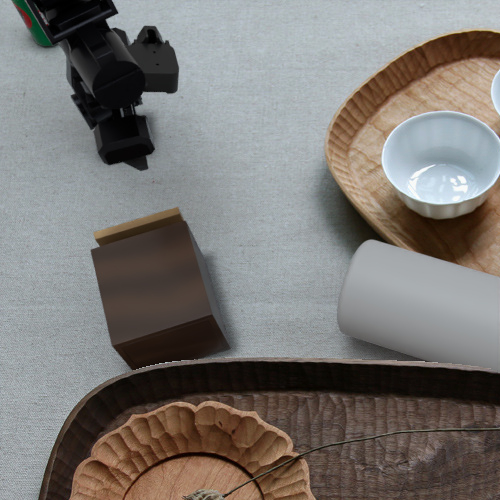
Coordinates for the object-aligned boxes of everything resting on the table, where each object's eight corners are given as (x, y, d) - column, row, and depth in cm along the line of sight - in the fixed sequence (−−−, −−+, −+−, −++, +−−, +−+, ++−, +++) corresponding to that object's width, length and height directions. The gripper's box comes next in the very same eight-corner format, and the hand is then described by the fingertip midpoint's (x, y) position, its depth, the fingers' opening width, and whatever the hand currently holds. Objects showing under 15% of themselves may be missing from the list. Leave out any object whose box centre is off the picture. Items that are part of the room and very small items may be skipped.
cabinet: (117, 287, 112) (90, 249, 103) (205, 260, 113) (185, 220, 104) (138, 378, 106) (111, 345, 98) (231, 348, 108) (212, 313, 99)
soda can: (59, 50, 130) (24, -14, 118) (30, 46, 130) (-8, -18, 119) (70, 27, 131) (36, -39, 120) (41, 23, 132) (5, -42, 121)
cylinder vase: (341, 349, 107) (523, 407, 102) (328, 303, 95) (533, 367, 91) (375, 271, 111) (552, 324, 107) (367, 218, 99) (565, 275, 95)
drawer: (113, 257, 113) (91, 224, 106) (192, 233, 114) (175, 199, 107) (134, 346, 107) (112, 318, 100) (217, 320, 108) (201, 290, 101)
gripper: (176, 90, 88) (213, 181, 102) (146, -27, 95) (185, 73, 109) (75, 117, 87) (126, 205, 101) (52, -4, 94) (104, 95, 108)
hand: (138, 141), depth 105 cm, fingers open, 9 cm apart
